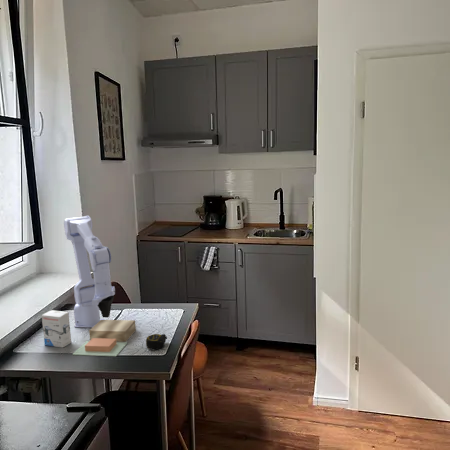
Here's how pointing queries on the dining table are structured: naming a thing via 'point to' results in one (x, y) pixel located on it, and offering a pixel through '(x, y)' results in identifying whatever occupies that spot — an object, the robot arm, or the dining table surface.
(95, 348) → the block
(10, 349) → the dining table surface
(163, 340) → the tape measure
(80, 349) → the mat
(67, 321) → the ink box
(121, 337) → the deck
